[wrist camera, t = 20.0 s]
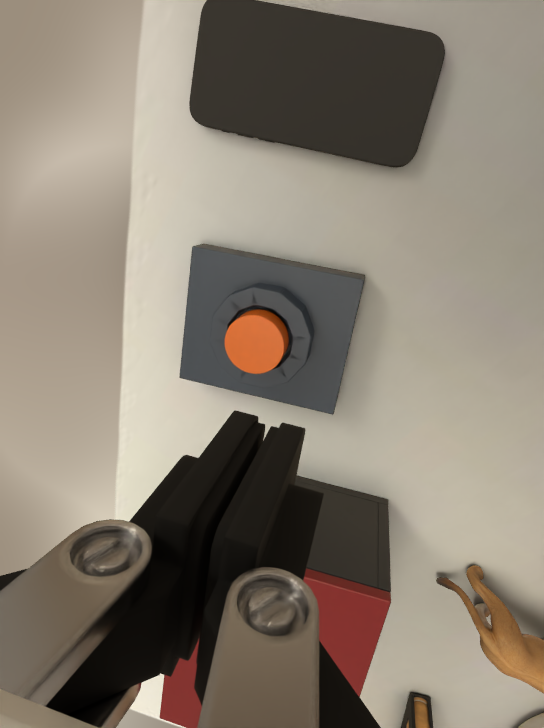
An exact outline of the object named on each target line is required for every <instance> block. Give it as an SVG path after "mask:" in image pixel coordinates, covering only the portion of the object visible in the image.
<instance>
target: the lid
mask: <svg viewBox="0 0 544 728" xmlns="http://www.w3.org/2000/svg"><path fill="white" fill-rule="evenodd" d="M303 581H304V582H305V583H306V584H307V585H308V586H309V587H310V588H311V590H312V592H313V594H314V595H315V597H316V599H317V603H318V609H319V641H320V642H321V643H322V645H323V646H324V648H325V649H326V651H327V652H328V653H329V655H330V656H331V658H332V659H333V661H334V662H335V663H336V665H337V666H338V668H339V669H340V671H341V672H342V673H343V675H344V676H345V678H346V679H347V680H348V682H349V683H350V685H351V686H352V688H353V689H354V690H355V692H356V693H357V695H358V696H359V697H360V694H361V691H362V688H363V685H364V682H365V679H366V676H367V673H368V670H369V667H370V664H371V661H372V658H373V655H374V652H375V648H376V645H377V642H378V639H379V636H380V633H381V630H382V627H383V624H384V621H385V618H386V615H387V612H388V609H389V606H390V603H391V594H390V592H387V591H383V590H380V589H376V588H373V587H369V586H366V585H363V584H359V583H356V582H352V581H349V580H345V579H342V578H338V577H335V576H331V575H328V574H324V573H321V572H317V571H314V570H311V569H307V568H306V572H305V576H304V580H303ZM198 644H199V640H198V642H197V645H196V647H195V649H194V651H193V654H192V656H191V658H190V659H189V660H188V661H186V660H183V659H181V658H180V659H179V661H178V663H177V665H176V667H175V669H174V672H173V674H172V676H171V677H169V676H167V675H164V684H163V693H162V702H161V710H160V718H161V719H164V720H166V721H169V722H172V723H175V724H178V725H181V726H184V727H186V728H197V727H198V722H199V718H200V713H201V709H202V706H201V703H200V701H199V698H198V696H197V694H196V691H195V689H194V683H195V676H196V669H197V664H196V659H197V652H198Z"/></svg>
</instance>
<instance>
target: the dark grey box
mask: <svg viewBox="0 0 544 728" xmlns="http://www.w3.org/2000/svg"><path fill="white" fill-rule="evenodd" d="M294 485H297V486H300V487H304V488H308V489H311V490H315V491H318V492H322V493H324V496H323V500H322V504H321V508H320V513H319V517H318V521H317V526H316V530H315V534H314V538H313V543H312V547H311V551H310V555H309V559H308V564H307V569H311V570H314V571H317V572H321V573H324V574H328V575H331V576H335V577H338V578H342V579H345V580H349V581H352V582H356V583H359V584H363V585H366V586H369V587H373V588H376V589H380V590H383V591H387V592H391V582H390V548H389V515H388V500H387V499H384V498H380V497H376V496H372V495H368V494H365V493H361V492H357V491H353V490H349V489H345V488H342V487H338V486H334V485H330V484H326V483H322V482H319V481H315V480H311V479H307V478H303V477H299V476H296V479H295V484H294Z"/></svg>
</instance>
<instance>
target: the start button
mask: <svg viewBox="0 0 544 728" xmlns="http://www.w3.org/2000/svg"><path fill="white" fill-rule="evenodd" d="M288 343H289V336H288V331H287V329H286V326H285V325H284V323H283V322H282V320H281V319H280V318H279V317H278V316H276V315H275V314H273V313H271V312H269V311H266V310H261V309H256V310H251V311H248V312H246V313H244V314H242V315H241V316H240V317H239V318H237V319H236V320H235V321H234V322H233V323H232V324H231V325H230V326H229V328H228V330H227V332H226V335H225V349H226V352H227V355H228V357H229V359H230V360H231V361H232V363H233V364H234V365H235V366H236V367H238V368H239V369H241V370H243V371H245V372H248V373H252V374H261V373H265V372H268V371H270V370H272V369H273V368H275V367H276V366H277V365H278V363H279V362H280V361H281V359H282V357H283V356H284V354H285V352H286V350H287V348H288Z"/></svg>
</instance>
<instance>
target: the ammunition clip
mask: <svg viewBox="0 0 544 728" xmlns="http://www.w3.org/2000/svg"><path fill="white" fill-rule="evenodd" d="M401 728H433V720H432V709H431V699H430V697H426V696H422V695H418V694H414V693H410V694H409V698H408V702H407V706H406V710H405V714H404V718H403V722H402V726H401Z"/></svg>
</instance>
